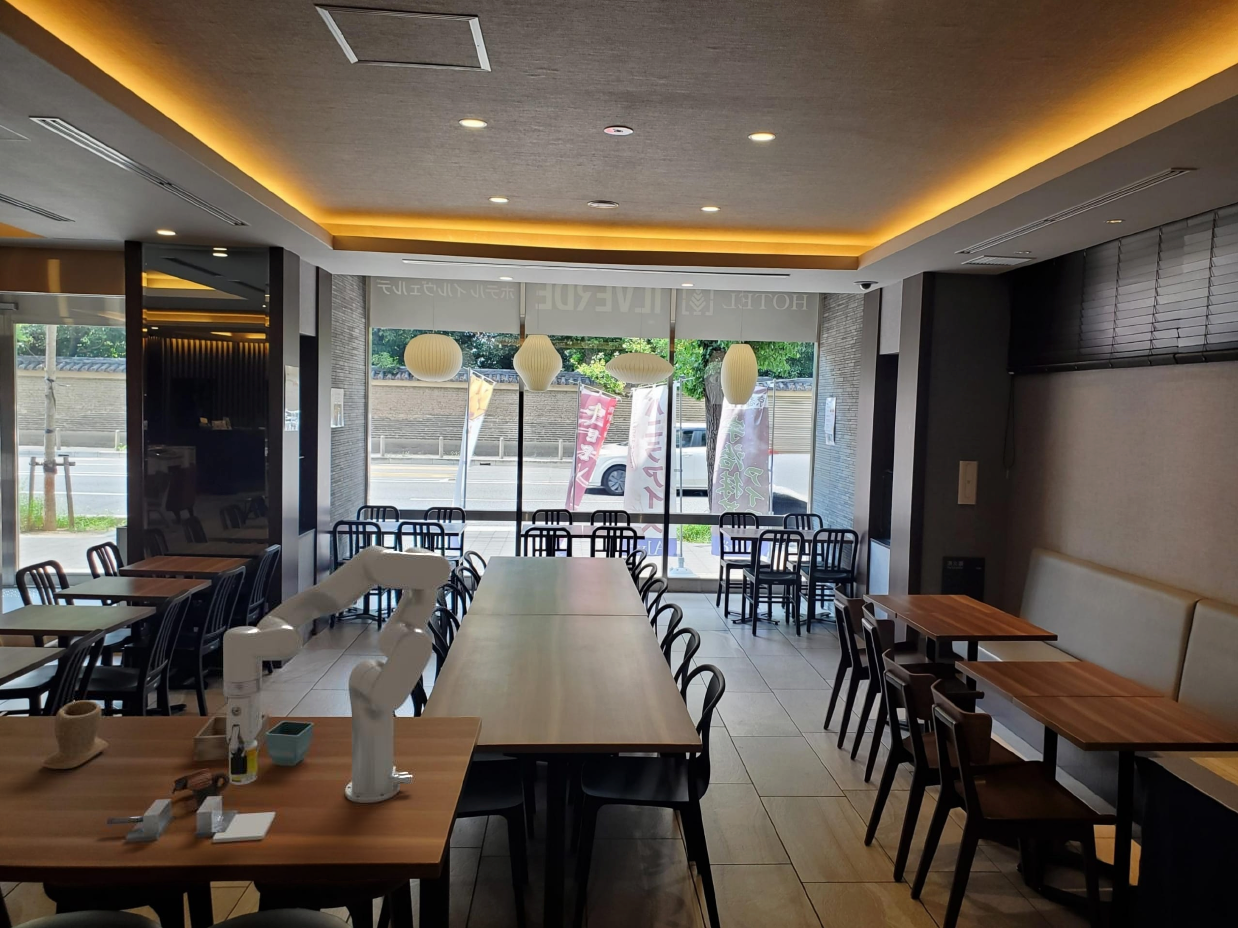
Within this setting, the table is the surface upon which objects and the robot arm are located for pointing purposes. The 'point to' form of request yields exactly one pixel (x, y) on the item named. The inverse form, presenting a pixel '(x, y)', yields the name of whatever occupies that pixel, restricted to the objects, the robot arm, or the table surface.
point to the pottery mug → (201, 786)
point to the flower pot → (289, 742)
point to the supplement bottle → (251, 765)
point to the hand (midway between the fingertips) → (243, 766)
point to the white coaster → (246, 827)
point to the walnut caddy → (221, 739)
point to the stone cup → (76, 735)
